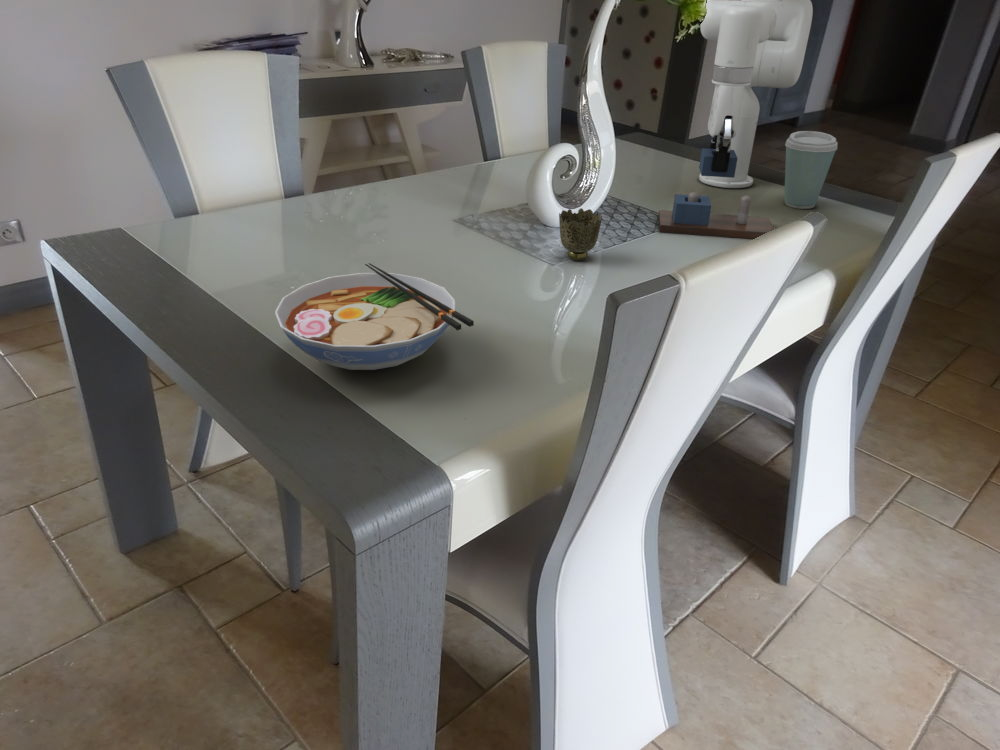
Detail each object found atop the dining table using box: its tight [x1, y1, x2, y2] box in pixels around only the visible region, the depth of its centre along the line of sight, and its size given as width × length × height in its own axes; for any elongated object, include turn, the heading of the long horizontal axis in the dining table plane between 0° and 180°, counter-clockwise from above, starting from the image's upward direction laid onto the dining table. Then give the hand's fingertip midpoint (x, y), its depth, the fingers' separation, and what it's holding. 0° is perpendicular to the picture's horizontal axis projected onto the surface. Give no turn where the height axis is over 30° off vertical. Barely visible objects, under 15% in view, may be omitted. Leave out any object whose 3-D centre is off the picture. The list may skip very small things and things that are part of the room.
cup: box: [558, 207, 603, 262], centre depth 130 cm, size 8×7×8 cm
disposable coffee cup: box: [783, 130, 839, 210], centre depth 161 cm, size 11×11×15 cm
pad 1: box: [672, 193, 712, 226], centre depth 148 cm, size 7×7×4 cm
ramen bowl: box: [274, 262, 475, 371], centre depth 97 cm, size 25×23×8 cm
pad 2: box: [698, 148, 738, 178], centre depth 155 cm, size 7×7×4 cm
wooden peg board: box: [657, 191, 775, 240], centre depth 147 cm, size 10×22×7 cm, turn 81°
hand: (717, 165), depth 155 cm, fingers closed on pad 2, 6 cm apart
